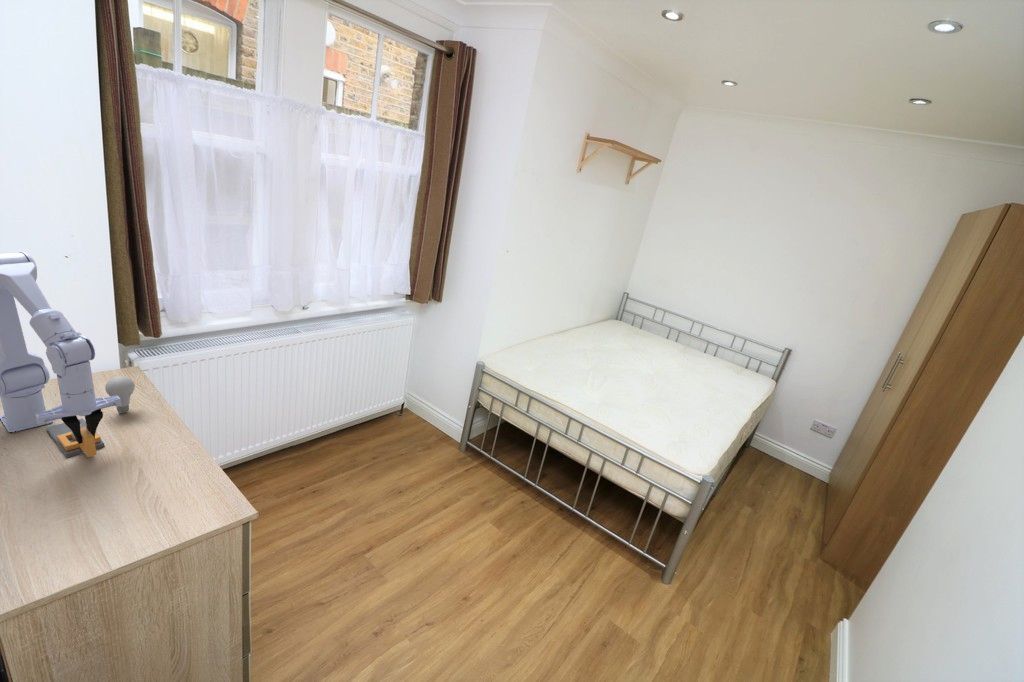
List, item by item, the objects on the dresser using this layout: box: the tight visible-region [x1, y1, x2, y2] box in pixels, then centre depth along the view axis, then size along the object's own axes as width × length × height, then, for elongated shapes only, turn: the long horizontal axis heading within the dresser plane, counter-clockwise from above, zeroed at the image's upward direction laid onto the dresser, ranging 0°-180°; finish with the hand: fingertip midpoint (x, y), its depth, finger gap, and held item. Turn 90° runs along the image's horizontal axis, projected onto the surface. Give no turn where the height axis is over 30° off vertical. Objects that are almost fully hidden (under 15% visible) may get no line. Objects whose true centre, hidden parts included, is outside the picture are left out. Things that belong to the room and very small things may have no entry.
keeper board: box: [45, 418, 105, 458], centre depth 116 cm, size 15×7×6 cm, turn 55°
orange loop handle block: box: [57, 427, 102, 458], centre depth 112 cm, size 12×6×5 cm, turn 55°
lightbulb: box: [104, 375, 136, 414], centre depth 127 cm, size 6×6×11 cm
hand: (85, 439), depth 111 cm, fingers closed on orange loop handle block, 2 cm apart
